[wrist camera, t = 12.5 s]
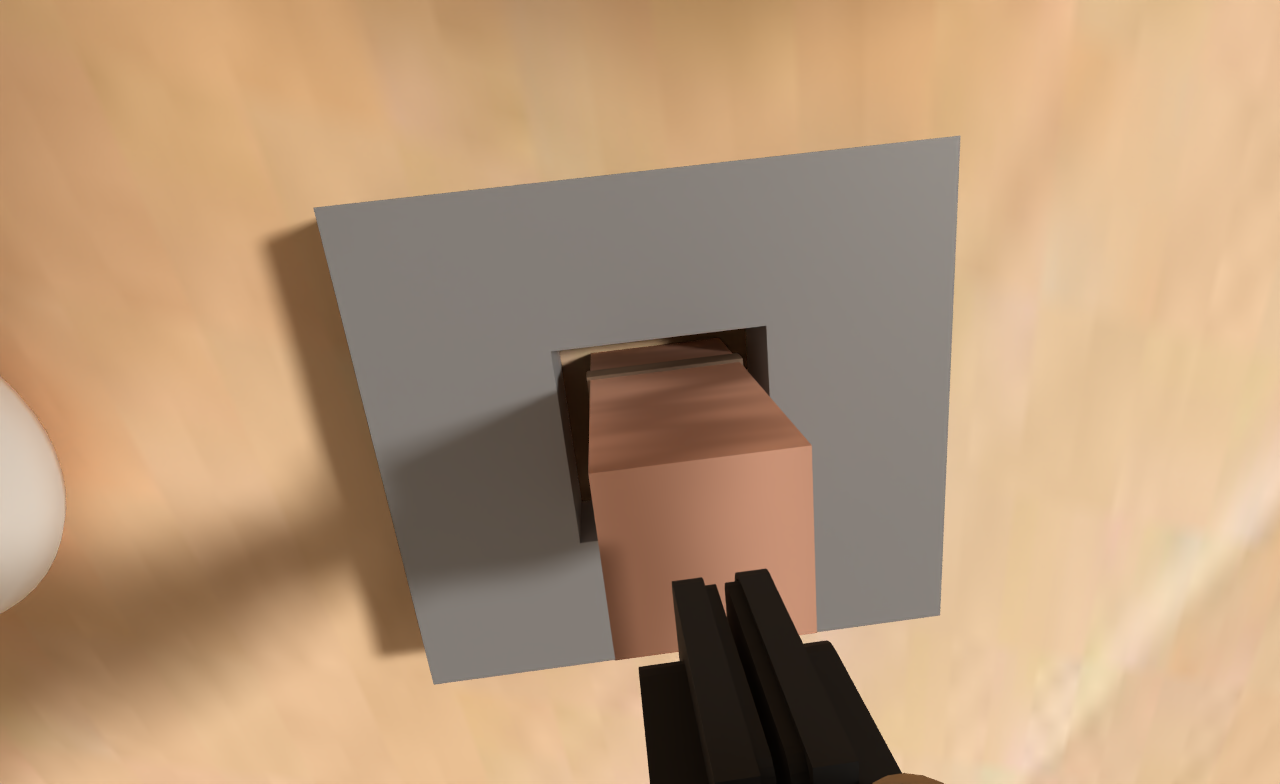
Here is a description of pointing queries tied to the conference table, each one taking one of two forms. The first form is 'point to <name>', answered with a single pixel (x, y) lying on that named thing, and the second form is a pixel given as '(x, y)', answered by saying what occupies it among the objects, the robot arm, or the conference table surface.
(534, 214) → the board
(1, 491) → the flower in vase
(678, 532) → the peg
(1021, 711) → the conference table surface
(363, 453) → the conference table surface
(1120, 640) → the conference table surface
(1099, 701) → the conference table surface
